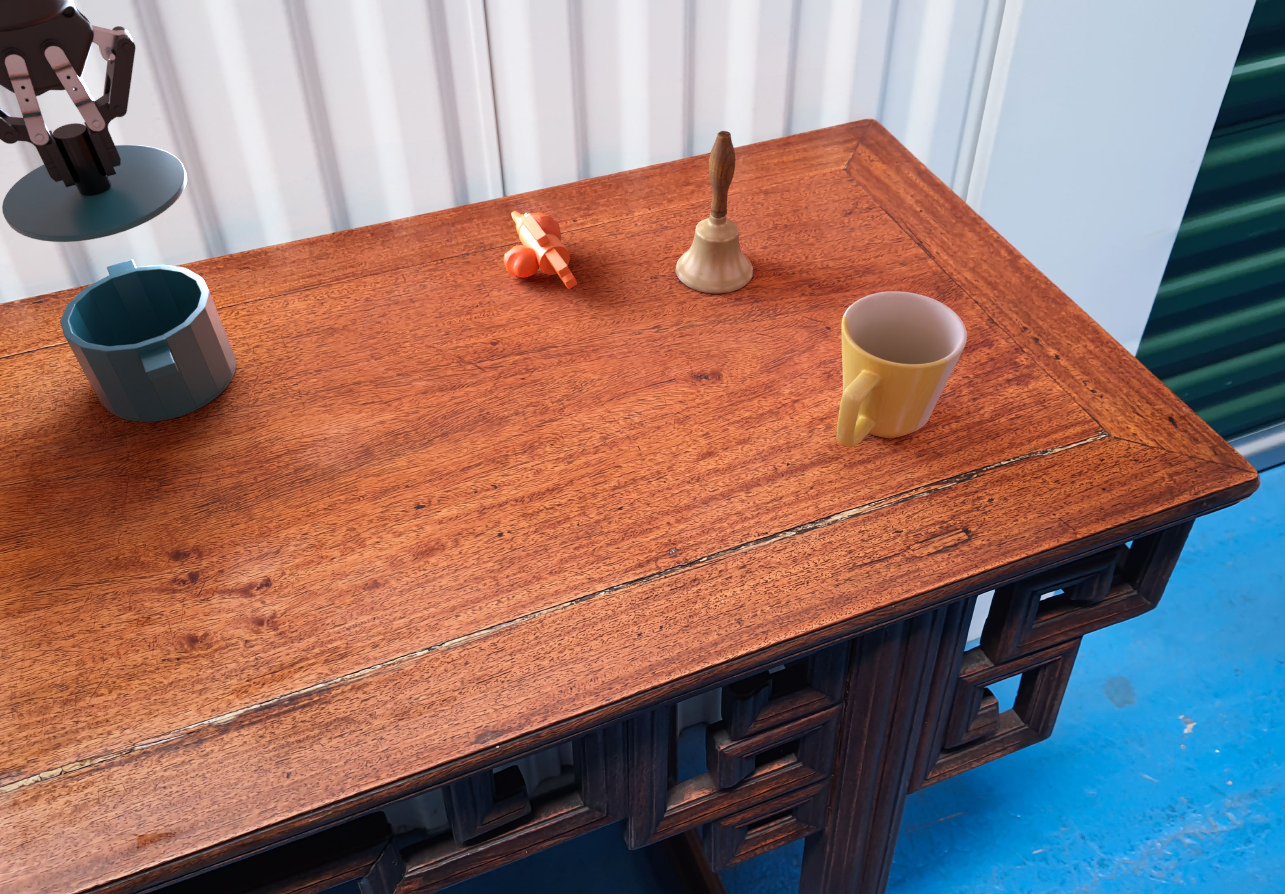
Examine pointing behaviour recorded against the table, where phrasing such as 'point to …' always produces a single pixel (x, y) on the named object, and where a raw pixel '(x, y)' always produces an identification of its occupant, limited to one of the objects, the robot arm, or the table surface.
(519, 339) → the table surface
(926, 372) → the mug
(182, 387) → the pot
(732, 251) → the hand bell
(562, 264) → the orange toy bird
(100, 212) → the lid
